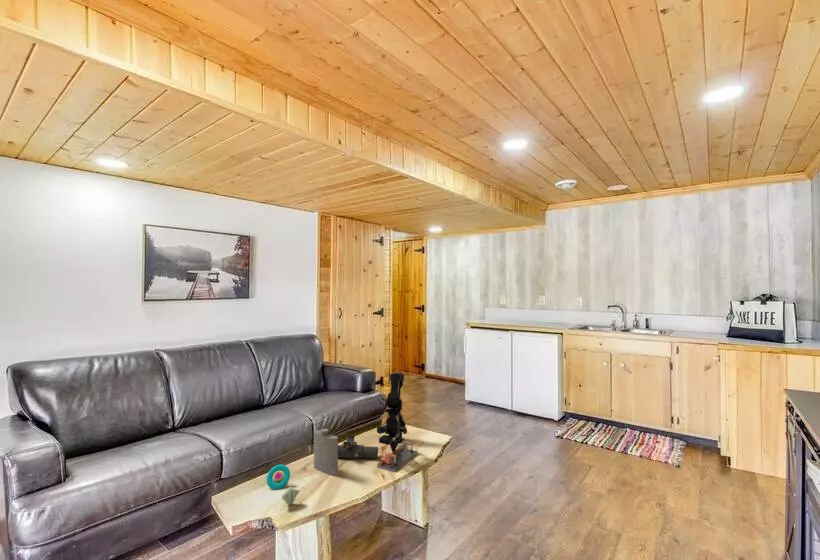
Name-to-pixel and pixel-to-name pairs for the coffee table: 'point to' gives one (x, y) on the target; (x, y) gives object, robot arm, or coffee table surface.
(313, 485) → the coffee table surface
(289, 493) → the grey-green faceted piece
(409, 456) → the plate
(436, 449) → the coffee table surface
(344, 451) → the laser sight
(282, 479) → the ornament
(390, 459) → the block
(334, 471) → the hip flask
